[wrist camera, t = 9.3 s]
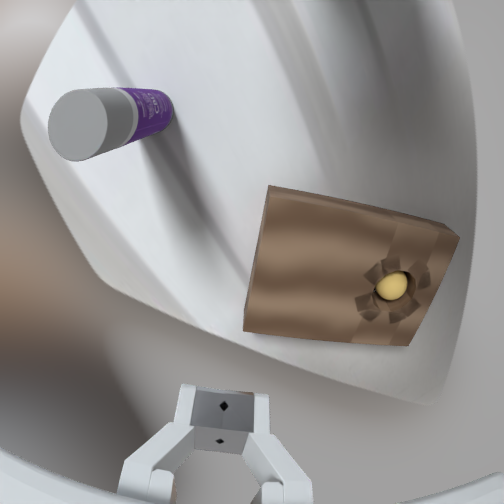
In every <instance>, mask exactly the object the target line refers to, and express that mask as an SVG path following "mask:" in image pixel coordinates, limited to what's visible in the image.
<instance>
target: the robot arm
mask: <svg viewBox="0 0 504 504" xmlns="http://www.w3.org/2000/svg"><path fill="white" fill-rule="evenodd" d="M269 403H270V402H269V395H268V394H259V393H252V392H241V391H230V390H219V389H212V388H206V387H199V386H194V385H187V384H182V386H181V389H180V393H179V398H178V403H177V408H176V413H175V418H174V423H172V422H169V423H168V424H167V425H165V426H164V427H163V428H162V429H161V430H160V431H159V432H157V433H156V434H155V435H154V436H153V437H152V438H151V439H149V440H148V441H147V442H146V443H145V444H144V445H143V446H141V447H140V448H139V449H138V450H137V451H135V452H134V453H133V454H132V455H131V456H129V457H128V458H127V459H126V460H125V462H124V466H123V470H122V474H121V478H120V481H119V485H118V489H117V493H116V494H115V493H111V492H108V491H105V490H101V489H98V488H95V487H92V486H89V485H86V484H83V483H80V482H78V481H75V480H72V479H69V478H67V477H64V476H62V475H59V474H57V473H54V472H52V471H49V470H47V469H45V468H43V467H40V466H38V465H36V464H34V463H31V462H29V461H27V460H25V459H23V458H21V457H19V456H17V455H15V454H13V453H11V452H9V451H7V450H6V449H4V448H2V447H0V504H176V499H177V492H176V486H175V480H174V476H173V473H174V472H175V471H176V470H177V468H179V467H180V465H181V464H182V463H183V462H184V461H185V460H186V459H187V458H188V457H189V455H191V453H192V452H193V451H194V449H197V450H206V451H216V452H224V453H232V454H241V455H242V457H243V459H244V461H245V462H246V464H247V466H248V467H249V469H250V470H251V472H252V474H253V475H254V477H255V478H256V480H257V482H258V484H259V485H260V487H261V488H260V489H259V491H258V493H257V494H256V495H255V497H254V498H253V500H252V502H251V504H313V493H312V482H311V480H310V479H309V478H308V476H307V475H306V474H305V473H304V472H303V470H302V469H301V468H300V467H299V465H298V464H297V463H296V461H295V460H294V459H293V458H292V456H291V455H290V454H289V453H288V451H287V450H286V449H285V448H284V446H283V445H282V443H281V442H280V441H279V440H278V438H277V437H276V436H275V435H274V434H270V404H269ZM396 504H504V474H503V473H501V472H496V473H492V474H490V475H487V476H485V477H482V478H480V479H477V480H475V481H472V482H469V483H467V484H464V485H461V486H458V487H455V488H452V489H449V490H445V491H442V492H439V493H436V494H432V495H428V496H425V497H421V498H417V499H413V500H409V501H405V502H400V503H396Z"/></svg>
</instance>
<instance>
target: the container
mask: <svg viewBox="0 0 504 504" xmlns="http://www.w3.org/2000/svg"><path fill="white" fill-rule="evenodd" d="M172 116H173V105H172V102H171V100H170V98H169V97H168V96H167V95H166V94H165V93H163V92H161V91H159V90H152V89H136V88H93V89H78V90H73V91H70V92H68V93H66V94H64V95H63V96H62V97H61V98H60V99H59V100H58V101H57V102H56V103H55V105H54V107H53V108H52V111H51V113H50V116H49V121H48V134H49V139H50V142H51V144H52V146H53V148H54V149H55V151H56V152H57V153H58V154H59V155H60V156H61V157H63V158H65V159H67V160H70V161H83V160H86V159H89V158H91V157H94V156H97V155H99V154H102V153H105V152H108V151H110V150H113V149H116V148H119V147H122V146H124V145H127V144H129V143H131V142H134V141H137V140H139V139H142V138H144V137H147V136H150V135H152V134H155V133H158V132H160V131H162V130H163V129H164V128H166V127H167V126H168V124H169V123H170V121H171V119H172Z"/></svg>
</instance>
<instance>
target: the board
mask: <svg viewBox="0 0 504 504" xmlns="http://www.w3.org/2000/svg"><path fill="white" fill-rule="evenodd" d="M459 239H460V237H459V236H458V235H456V234H455V233H454V232H453V231H452V230H451V229H449V228H448V227H447V226H446V225H444V224H442V223H438V222H435V221H431V220H427V219H423V218H420V217H416V216H412V215H408V214H404V213H400V212H396V211H391V210H387V209H383V208H379V207H374V206H370V205H366V204H361V203H357V202H352V201H348V200H343V199H338V198H333V197H329V196H324V195H319V194H314V193H309V192H303V191H298V190H293V189H287V188H282V187H276V186H271V185H268V190H267V196H266V201H265V206H264V211H263V216H262V221H261V226H260V231H259V237H258V242H257V247H256V252H255V257H254V262H253V267H252V272H251V277H250V282H249V287H248V293H247V298H246V303H245V308H244V319H243V331H244V332H252V333H259V334H267V335H275V336H284V337H293V338H302V339H312V340H323V341H334V342H346V343H360V344H375V345H393V346H409V344H410V342H411V340H412V339H413V337H414V335H415V333H416V331H417V329H418V328H419V326H420V324H421V322H422V320H423V318H424V316H425V314H426V312H427V310H428V308H429V306H430V304H431V302H432V300H433V298H434V296H435V294H436V292H437V290H438V288H439V286H440V284H441V281H442V279H443V277H444V275H445V273H446V270H447V268H448V266H449V263H450V261H451V259H452V256H453V254H454V252H455V249H456V247H457V244H458V242H459ZM397 270H401V271H404V273H405V275H406V278H407V288H406V291H405V292H404V294H403V295H402V296H401V297H399V298H398V299H395V300H387V299H384V298H382V297H381V296H380V295H379V294H378V293H377V292H373V290H374V288H375V285H376V283H377V282H378V281H379V280H380V279H382V278H383V277H384V276H385V275H386V274H388V273H391V272H394V271H397Z"/></svg>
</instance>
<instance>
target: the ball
mask: <svg viewBox="0 0 504 504" xmlns="http://www.w3.org/2000/svg"><path fill="white" fill-rule="evenodd" d="M375 287H376V291H377V292H378V294H379V295H380V296H381V297H382V298H384V299H387V300H395V299H398V298H399V297H401V296H402V295H403V294H404V292H405V291H406V288H407V278H406V275H405V273H404V272H403V271H401V270H397V271H394V272H391V273H388V274H386V275H385V276H384V277H383V278H382V279H380V280H379V281H378V282H377V283H376V285H375Z"/></svg>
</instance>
